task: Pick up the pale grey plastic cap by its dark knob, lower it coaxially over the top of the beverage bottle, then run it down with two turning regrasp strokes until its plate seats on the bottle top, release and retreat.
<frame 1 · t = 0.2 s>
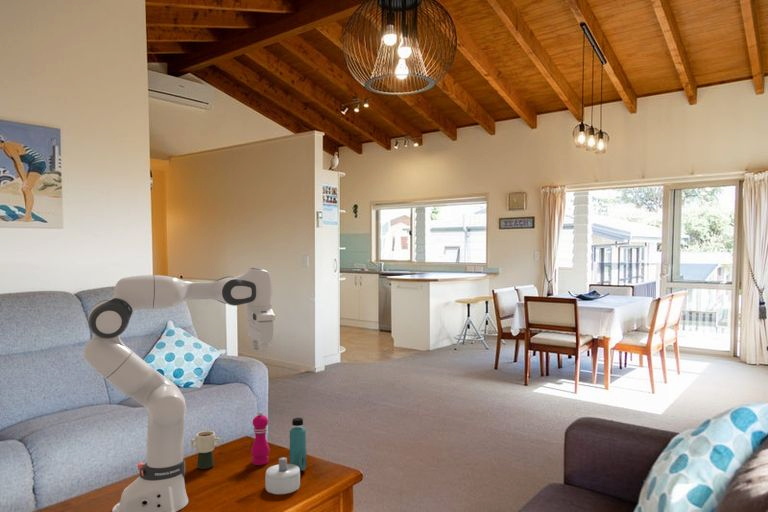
hand: (259, 352, 184), 47 cm above the table, fingers open, 8 cm apart
cap: (282, 486, 183), on the table
pepper mill: (260, 462, 205), on the table
beverage bottle: (297, 472, 196), on the table
character mug: (205, 467, 200), on the table
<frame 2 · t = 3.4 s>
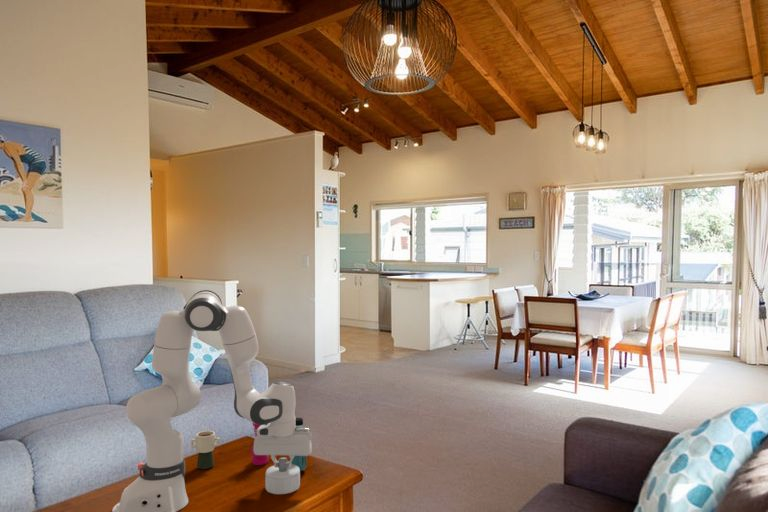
hand: (282, 467, 183), 7 cm above the table, fingers closed on cap, 3 cm apart
cap: (282, 486, 183), on the table, touching gripper
everything else where it was.
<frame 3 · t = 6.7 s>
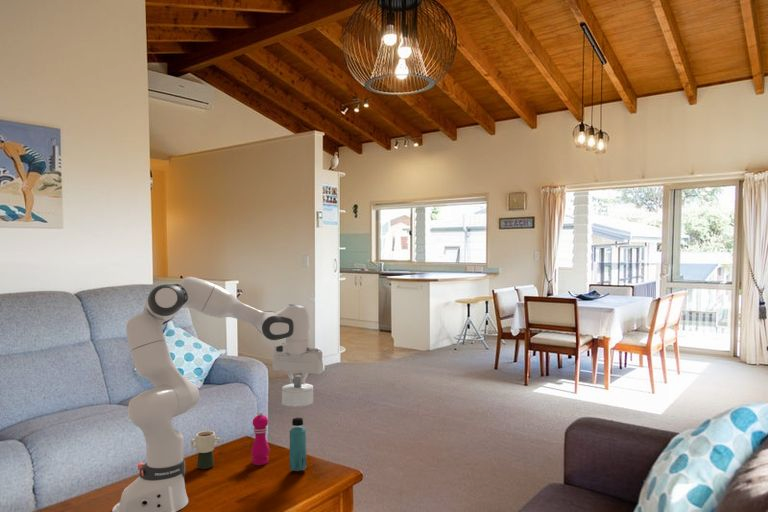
hand: (297, 383, 196), 33 cm above the table, fingers closed on cap, 3 cm apart
cap: (297, 402, 196), point 26 cm above the table, touching gripper
everything else where it was.
when the fingers open (22 cm above the table, at t = 9.7 s): cap stays where it is, resting on beverage bottle.
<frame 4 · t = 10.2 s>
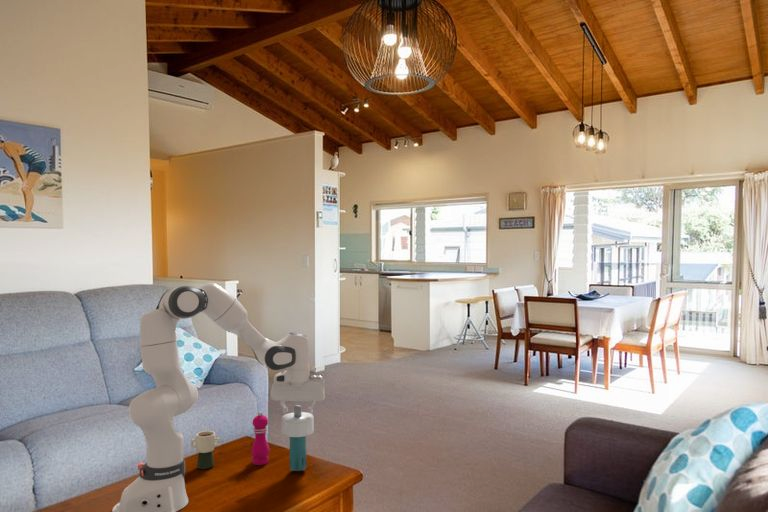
hand: (297, 412, 196), 22 cm above the table, fingers open, 8 cm apart
cap: (297, 431, 196), point 15 cm above the table, touching beverage bottle
beverage bottle: (297, 472, 196), on the table, touching cap
everything else where it was.
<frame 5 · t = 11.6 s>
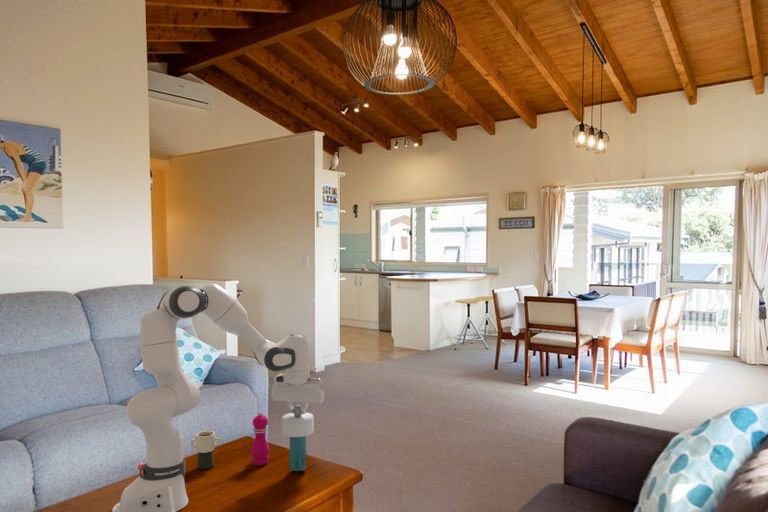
hand: (297, 413, 196), 22 cm above the table, fingers closed on cap, 3 cm apart
cap: (297, 431, 196), point 15 cm above the table, touching beverage bottle, gripper
everything else where it was.
when the fingers open (22 cm above the table, at t = 13.2 s): cap stays where it is, resting on beverage bottle.
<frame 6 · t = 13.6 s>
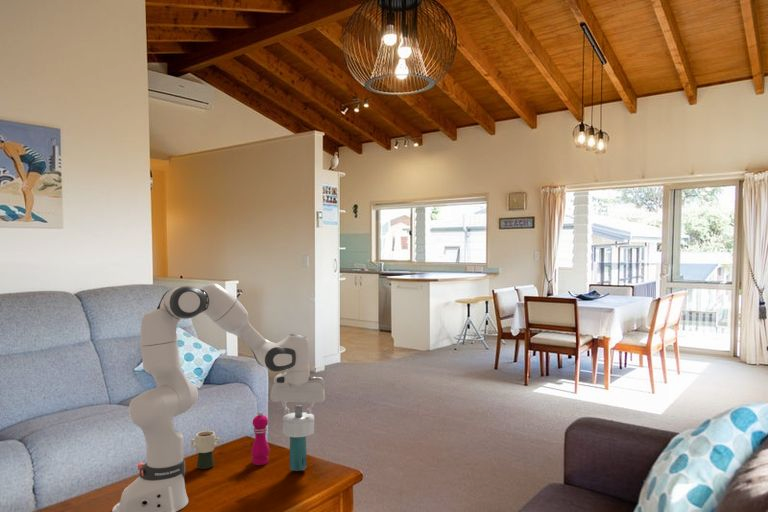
hand: (297, 413, 196), 22 cm above the table, fingers open, 7 cm apart
cap: (298, 432, 195), point 15 cm above the table, touching beverage bottle
everything else where it was.
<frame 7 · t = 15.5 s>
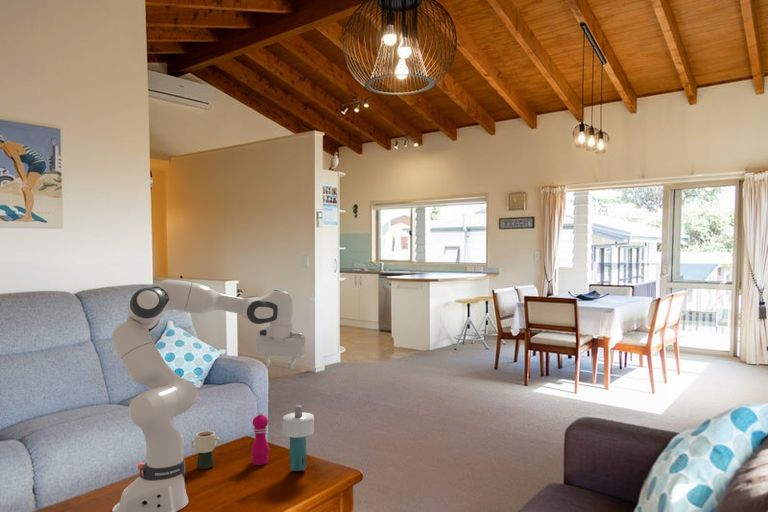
hand: (279, 367, 201), 38 cm above the table, fingers open, 8 cm apart
nothing on the table moved.
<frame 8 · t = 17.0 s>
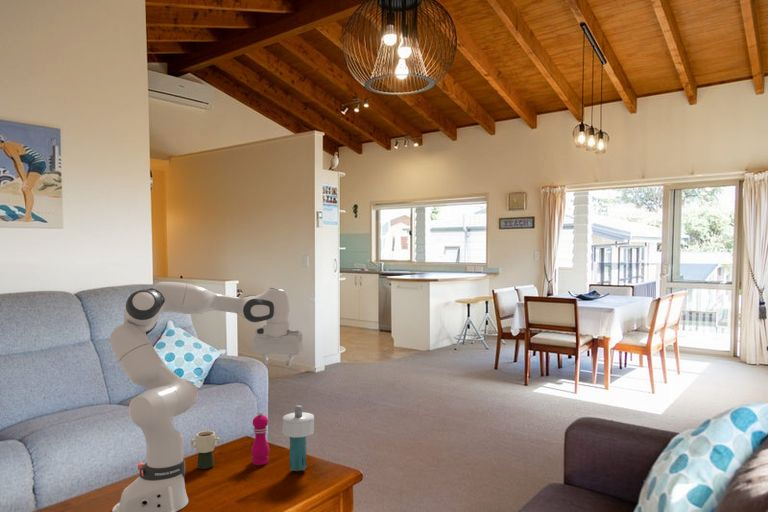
hand: (278, 365, 202), 39 cm above the table, fingers open, 8 cm apart
nothing on the table moved.
at the end: cap 0.4 cm from the beverage bottle (horizontally); cap inside the target area (0.4 cm from its centre), point 15.0 cm above the table; beverage bottle tilted 0° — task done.
